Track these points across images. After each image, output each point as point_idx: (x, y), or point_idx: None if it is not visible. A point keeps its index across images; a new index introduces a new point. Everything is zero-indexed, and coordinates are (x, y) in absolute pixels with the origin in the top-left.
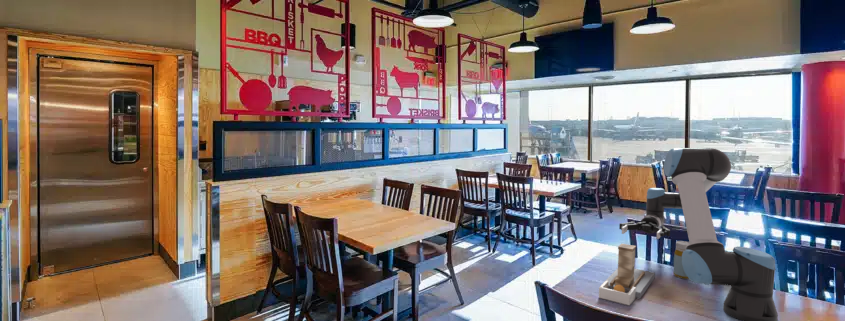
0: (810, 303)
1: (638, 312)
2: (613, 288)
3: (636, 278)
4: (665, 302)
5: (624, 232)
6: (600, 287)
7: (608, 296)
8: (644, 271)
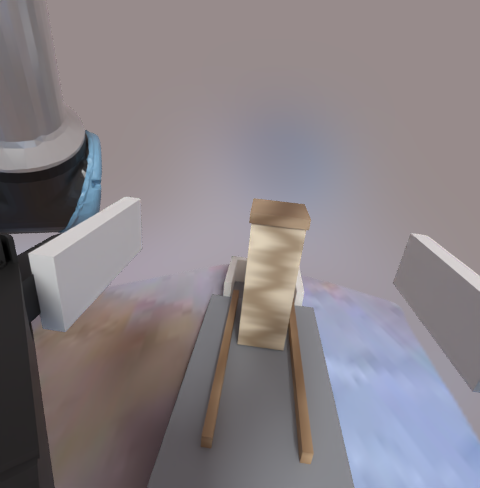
0: None
1: (211, 268)
2: None
3: (233, 379)
4: (147, 312)
5: (408, 294)
6: None
7: None
8: None
